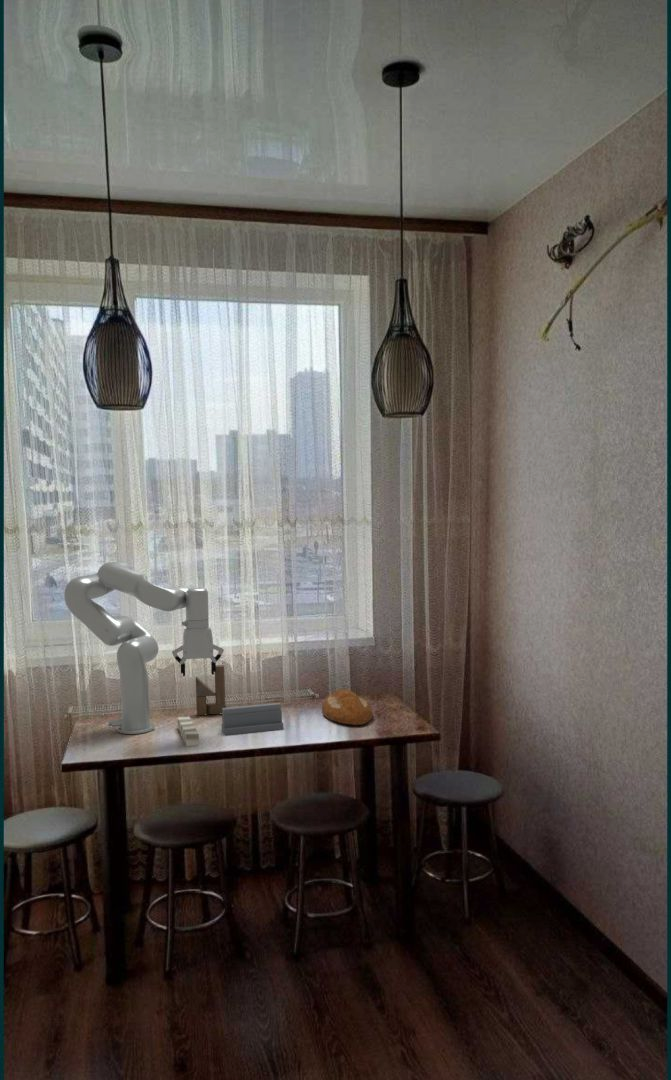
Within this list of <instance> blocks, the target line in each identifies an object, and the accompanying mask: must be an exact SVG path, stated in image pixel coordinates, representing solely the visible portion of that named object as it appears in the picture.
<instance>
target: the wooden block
mask: <svg viewBox="0 0 671 1080" xmlns="http://www.w3.org/2000/svg"><path fill="white" fill-rule="evenodd" d="M224 665H225V664H216V672H214V691H213V690H212V689H211V688H210V687H209V685H207V684H206V683H204V681H202V680H201V679H200V678H199V677H198V676H197V675H196V676H195V695H196V698H195V701H196V716H197V715H205V714H207V713H208V714H207V715H209V714H219V715H221V714H220V713H222V708H227V704H226V683H225V682H226V680H225V666H224ZM207 697H215V703H214V702H213V703H207Z"/></svg>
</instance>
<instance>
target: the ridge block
mask: <svg viewBox="0 0 671 1080" xmlns="http://www.w3.org/2000/svg"><path fill="white" fill-rule="evenodd" d="M282 715H283V712H282V704H281V703H280V702H275V703H274V702H273V703H264V704H254V705H241V706H232V707H226V708H222V714H221V718H222V719H221V721H222V722H221V731H222V732H223V734H224V735H225V736H231V735H232V736H233V735H239V734H240V735H241V734H249V733H251V734H252V733H260V732H269V731H270V732H271V731H277V730H278V731H279V730H284V722H283V716H282Z"/></svg>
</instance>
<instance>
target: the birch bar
mask: <svg viewBox="0 0 671 1080" xmlns="http://www.w3.org/2000/svg"><path fill="white" fill-rule="evenodd" d="M177 728H178V731H179V733H180V735H181V738H182V740H183V742H184V744H185V746H186V747H192V746H199V745H200V736H199V735H200V733H199V731H198V730H197V728H196V727H195V725H194V723H193V720H192V719H191V717H190V716H180V717H177Z"/></svg>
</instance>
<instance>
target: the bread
mask: <svg viewBox="0 0 671 1080" xmlns="http://www.w3.org/2000/svg"><path fill="white" fill-rule="evenodd" d="M321 711H322V712H321V713H322V714H323V715H324V717H325V718H327V719H329V720H331V721H334V722H338V723H340V724H343V725H344V724H345V725H352V726H361V725H365V724H367V723H368V722H369V721H370V720H372V718H373V708H372V706H371V705H370V702H368V701H367V700H366V699H364V698H362V697H360V696H358V695H357V694H356V693H355V692H353V691H352V690H348V689H343V688H341V689H338V690H335V691H334V692H333V693H332V694H328V695H327V696H326V697H325V699H324V700H323V702H322V706H321Z"/></svg>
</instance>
